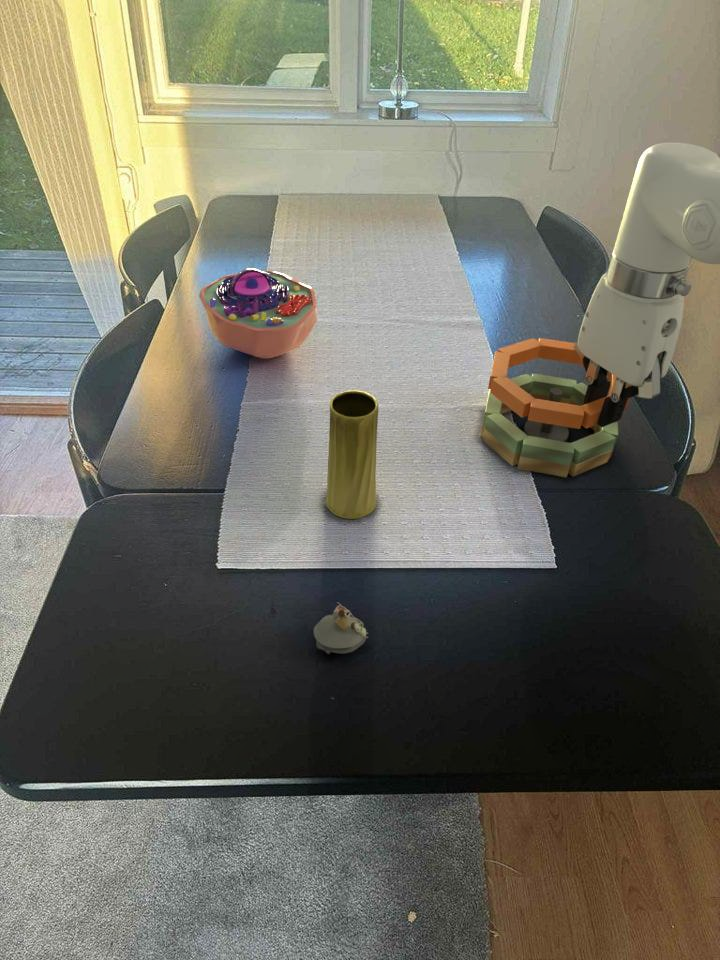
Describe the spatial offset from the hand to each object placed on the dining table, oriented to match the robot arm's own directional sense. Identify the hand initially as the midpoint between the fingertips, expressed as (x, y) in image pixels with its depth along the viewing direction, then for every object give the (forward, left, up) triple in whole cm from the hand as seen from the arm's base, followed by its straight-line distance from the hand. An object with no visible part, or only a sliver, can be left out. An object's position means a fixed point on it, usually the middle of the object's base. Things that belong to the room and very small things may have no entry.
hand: (600, 416), depth 85 cm
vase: (+8, +30, -8) cm, 32 cm away
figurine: (-9, +41, -8) cm, 43 cm away
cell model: (+46, +24, -8) cm, 53 cm away
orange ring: (+7, 0, 0) cm, 8 cm away
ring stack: (+7, 0, -8) cm, 11 cm away
